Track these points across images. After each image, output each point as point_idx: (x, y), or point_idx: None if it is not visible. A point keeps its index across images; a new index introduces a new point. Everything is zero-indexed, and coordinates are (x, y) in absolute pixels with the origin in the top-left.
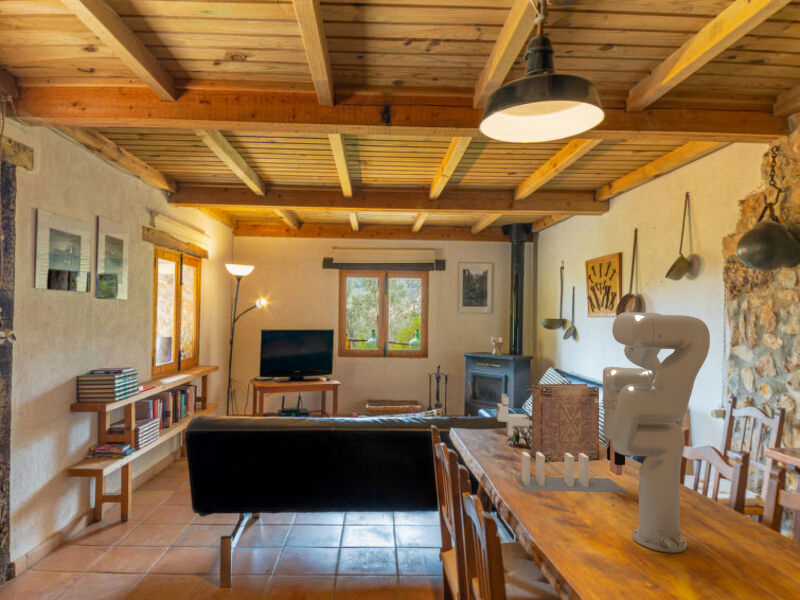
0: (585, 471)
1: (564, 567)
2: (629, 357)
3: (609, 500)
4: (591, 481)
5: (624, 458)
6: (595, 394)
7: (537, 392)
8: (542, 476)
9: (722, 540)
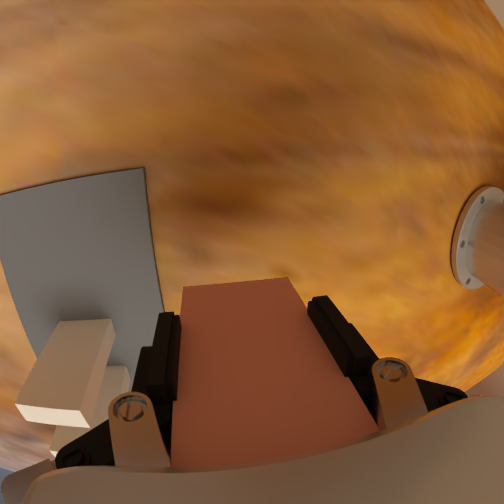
0: (100, 370)
1: (476, 381)
2: None
3: (235, 272)
4: (41, 286)
5: (345, 325)
6: None
7: None
8: None
9: (479, 85)
